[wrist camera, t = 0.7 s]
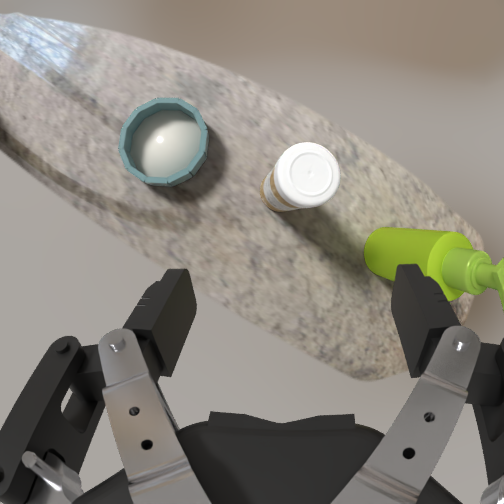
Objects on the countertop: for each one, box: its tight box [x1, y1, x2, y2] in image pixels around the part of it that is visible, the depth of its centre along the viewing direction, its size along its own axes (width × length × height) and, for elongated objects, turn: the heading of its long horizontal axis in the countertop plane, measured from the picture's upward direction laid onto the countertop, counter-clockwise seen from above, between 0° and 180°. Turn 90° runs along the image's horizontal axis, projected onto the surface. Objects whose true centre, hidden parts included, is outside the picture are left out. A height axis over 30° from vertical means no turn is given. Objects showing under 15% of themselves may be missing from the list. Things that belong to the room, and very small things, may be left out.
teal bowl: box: [118, 98, 209, 187], centre depth 31 cm, size 9×9×3 cm
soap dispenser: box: [364, 227, 504, 311], centre depth 25 cm, size 6×7×20 cm
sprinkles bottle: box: [260, 142, 341, 212], centre depth 27 cm, size 5×5×13 cm
